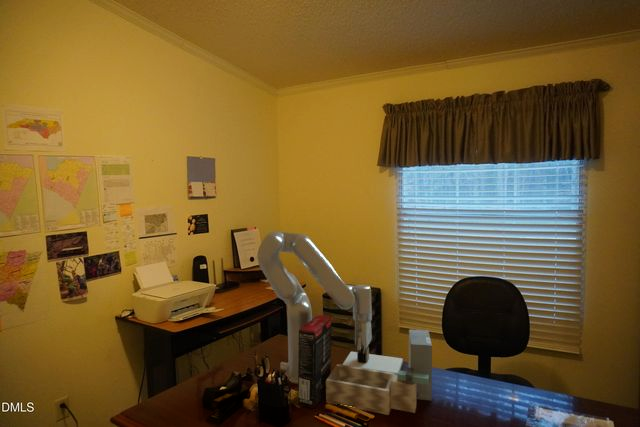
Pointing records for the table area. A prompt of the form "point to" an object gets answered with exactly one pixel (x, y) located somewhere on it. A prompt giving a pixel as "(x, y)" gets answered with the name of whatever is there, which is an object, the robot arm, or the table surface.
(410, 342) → the hard drive box
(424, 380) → the teal rectangular block
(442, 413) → the table surface
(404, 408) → the toolbox
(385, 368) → the toolbox lid
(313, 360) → the graphics card box
